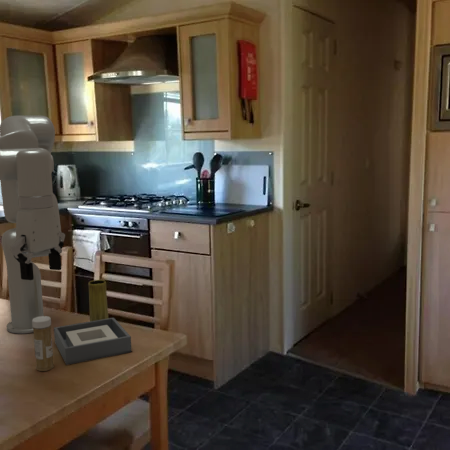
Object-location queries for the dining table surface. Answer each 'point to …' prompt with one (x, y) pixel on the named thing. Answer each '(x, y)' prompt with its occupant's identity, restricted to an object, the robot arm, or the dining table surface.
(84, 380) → the dining table surface
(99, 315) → the vase
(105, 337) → the block
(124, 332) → the open box
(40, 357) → the sprinkles bottle
